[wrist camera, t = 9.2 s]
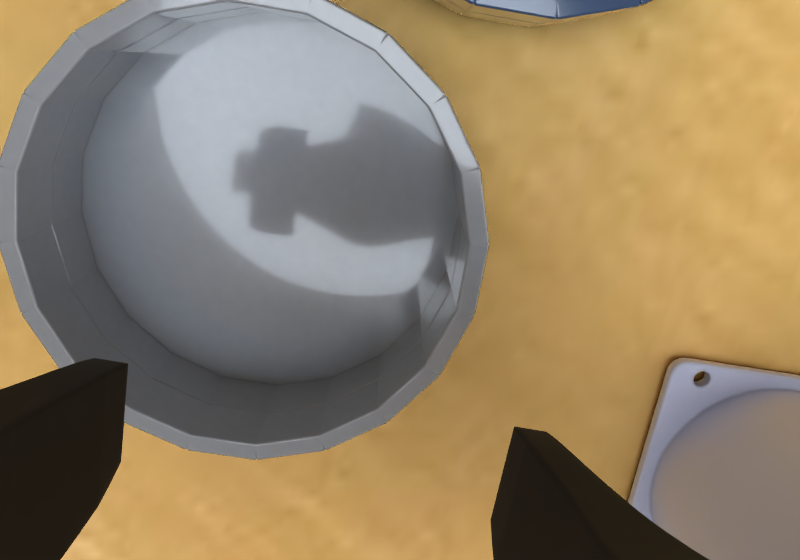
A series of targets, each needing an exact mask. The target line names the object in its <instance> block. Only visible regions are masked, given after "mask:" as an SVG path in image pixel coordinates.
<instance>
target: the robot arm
mask: <svg viewBox="0 0 800 560" xmlns="http://www.w3.org/2000/svg"><path fill="white" fill-rule="evenodd" d="M702 371H705V376H704V377H703V379H701V380H700V381H694V376H695V375H696V374H697V373H698V372H702ZM127 374H128V363H123V362H117V361H111V360H105V359H98V358H92V359H88V360H84V361H80V362H77V363H74V364H71V365H68V366H65V367H62V368H59V369H57V370H54V371H51V372H48V373H46V374H43V375H40V376H37V377H35V378H32V379H29V380H26V381H23V382H21V383H18V384H15V385H12V386H9V387H7V388H4V389H1V390H0V560H60V559H61V558H62V557H63V555H64V554H65V552H66V551H67V550H68V548H69V547H70V546H71V544H72V543H73V541H74V540H75V539H76V537H77V536H78V534H79V533H80V531H81V530H82V529H83V527H84V526H85V524H86V523H87V521H88V520H89V519H90V517H91V516H92V514H93V513H94V511H95V510H96V508H97V507H98V505H99V503H100V502H101V500H102V498H103V496H104V494H105V492H106V490H107V488H108V487H109V485H110V483H111V481H112V479H113V476H114V474H115V472H116V470H117V468H118V466H119V464H120V462H121V454H122V440H123V427H124V414H125V401H126V387H127ZM491 531H492V547H493V558H494V560H800V375H795V374H788V373H782V372H776V371H769V370H763V369H756V368H750V367H743V366H737V365H730V364H724V363H717V362H711V361H704V360H698V359H692V358H679V359H676V360H674V361H673V362H672V363H671V364H670V365H669V367H668V369H667V371H666V375H665V378H664V381H663V385H662V388H661V392H660V395H659V398H658V402H657V405H656V408H655V412H654V415H653V418H652V422H651V425H650V429H649V432H648V435H647V439H646V442H645V445H644V449H643V452H642V456H641V459H640V462H639V466H638V469H637V472H636V476H635V479H634V482H633V486H632V489H631V493H630V496H629V499H628V502H627V501H625V500H624V499H623V498H622V497H621V496H620V495H618V494H617V493H616V492H615V491H614V490H612V489H611V488H610V487H609V486H608V485H607V484H606V483H604V482H603V481H602V480H601V479H600V478H599V477H598V476H596V475H595V474H594V473H593V472H592V471H591V470H590V469H589V468H588V467H587V466H585V465H584V464H583V463H582V462H581V461H580V460H579V459H578V458H577V457H576V456H574V455H573V454H572V453H571V452H570V451H569V450H568V449H567V448H566V447H565V446H563V445H562V444H561V443H560V442H559V441H558V440H556V439H555V438H554V437H553V436H551V435H550V434H549V433H547V432H544V431H538V430H532V429H526V428H520V427H514V430H513V434H512V438H511V442H510V445H509V449H508V453H507V457H506V461H505V465H504V469H503V473H502V477H501V481H500V485H499V489H498V493H497V497H496V501H495V505H494V509H493V513H492V517H491Z"/></svg>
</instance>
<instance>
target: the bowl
mask: <svg viewBox="0 0 800 560" xmlns="http://www.w3.org/2000/svg"><path fill="white" fill-rule="evenodd" d="M434 1H435V2H437V3H439V4H441V5H443V6H444V7H446V8H448V9H450V10H452V11H453V12H455V13H457V14H462V15H463V16H466V17H472V18H477V19H483V20H489V21H495V22H500V23H506V24H512V25H517V26H523V27H528V26H530V27H536V26H543V25H549V24H555V23H561V22H567V21H574V20H580V19H586V18H592V17H598V16H602V15H606V14H610V13H614V12H619V11H623V10H627V9H631V8H635V7H638V6H641V5H644V4H646V3H648V2H650V1H652V0H434Z"/></svg>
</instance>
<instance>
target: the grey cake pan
mask: <svg viewBox="0 0 800 560" xmlns="http://www.w3.org/2000/svg"><path fill="white" fill-rule="evenodd" d="M488 243H489V236H488V227H487V219H486V210H485V202H484V194H483V185H482V177H481V170H480V168H479V164H478V161H477V159H476V157H475V155H474V153H473V151H472V149H471V147H470V144H469V142H468V140H467V138H466V136H465V134H464V132H463V129H462V127H461V125H460V123H459V121H458V119H457V117H456V114H455V112H454V110H453V108H452V106H451V104H450V102H449V100H448V97H447V96H446V95H445V93H444V92H443V91H442V89H441V88H440V87H439V86H438V85H437V84H436V83H435V82H434V81H433V80H432V79H431V78H430V77H429V76H428V75H427V74H426V72H425V71H424V70H423V69H422V68H421V67H420V66H419V65H418V64H417V63H416V62H415V61H414V60H413V59H412V58H411V56H410V55H409V54H408V53H407V52H406V51H405V50H404V49H403V48H402V47H401V46H400V45H399V44H398V43H397V42H396V41H395V39H394V38H393V37H392V36H391V35H390V34H387V32H386V31H384V30H382V29H380V28H378V27H377V26H375V25H373V24H371V23H369V22H367V21H366V20H364V19H362V18H360V17H358V16H356V15H355V14H353V13H351V12H349V11H347V10H345V9H344V8H342V7H340V6H338V5H336V4H334V3H333V2H331V1H329V0H127V1H126V2H124V3H122V4H120V5H119V6H117V7H115V8H113V9H112V10H110V11H108V12H106V13H105V14H103V15H101V16H99V17H98V18H96V19H94V20H92V21H91V22H89V23H87V24H85V25H83V26H82V27H80V28H78V29H76V30H75V32H73V33H72V34H71V35H70V36H69V37H68V39H67V40H66V41H65V42H64V43H63V45H62V46H61V47H60V48H59V49H58V51H57V52H56V53H55V54H54V55H53V57H52V58H51V59H50V60H49V61H48V63H47V64H46V65H45V66H44V67H43V69H42V70H41V71H40V72H39V74H38V75H37V76H36V77H35V78H34V80H33V81H32V82H31V83H30V84H29V86H28V87H27V88H26V89H25V91H24V93H23V94H22V97H21V99H20V102H19V105H18V108H17V111H16V114H15V117H14V119H13V122H12V125H11V128H10V131H9V134H8V136H7V139H6V142H5V145H4V148H3V151H2V154H1V156H0V251H1V254H2V257H3V260H4V263H5V266H6V269H7V273H8V276H9V279H10V282H11V285H12V288H13V291H14V294H15V297H16V300H17V303H18V306H19V309H20V312H23V313H22V316H23V317H24V319H25V320H26V321H27V323H28V324H29V326H30V327H31V329H32V330H33V332H34V333H35V334H36V336H37V337H38V339H39V340H40V342H41V343H42V344H43V346H44V347H45V349H46V350H47V352H48V353H49V354H50V356H51V357H52V359H53V360H54V362H55V363H56V365H57V366H58V367H59V368H62V367H65V366H68V365H71V364H74V363H77V362H80V361H84V360H88V359H92V358H98V359H105V360H111V361H117V362H123V363H128V374H127V387H126V401H125V414H124V423H126V424H129V425H131V426H133V427H135V428H138V429H140V430H142V431H144V432H147V433H149V434H151V435H154V436H156V437H158V438H160V439H163V440H165V441H167V442H170V443H172V444H174V445H176V446H179V447H181V448H183V449H187V450H190V451H197V452H204V453H211V454H218V455H225V456H232V457H239V458H246V459H253V460H256V459H258V460H260V459H267V458H274V457H282V456H289V455H296V454H304V453H311V452H318V451H324V450H328V449H330V448H332V447H334V446H336V445H339V444H341V443H343V442H345V441H347V440H350V439H352V438H354V437H356V436H358V435H361V434H363V433H365V432H367V431H369V430H372V429H374V428H376V427H378V426H381V425H383V424H385V423H386V422H387V421H390V420H391V419H392V418H393V417H394V416H395V415H396V414H398V413H399V412H400V411H401V410H402V409H403V408H404V407H405V406H406V405H408V404H409V403H410V402H411V401H412V400H413V399H414V398H415V397H417V396H418V395H419V394H420V393H421V392H422V391H423V390H424V389H426V388H427V387H428V386H429V385H430V384H431V383H432V382H433V381H434V380H436V379H437V378H438V375H440V374H441V373H442V371H443V369H444V367H445V366H446V364H447V362H448V360H449V359H450V357H451V355H452V354H453V352H454V350H455V348H456V347H457V345H458V343H459V342H460V340H461V338H462V336H463V335H464V333H465V331H466V329H467V328H468V326H469V324H470V323H471V321H472V319H473V317H474V314H475V311H476V307H477V302H478V297H479V292H480V287H481V282H482V278H483V273H484V268H485V263H486V258H487V253H488V249H489V244H488Z"/></svg>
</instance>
